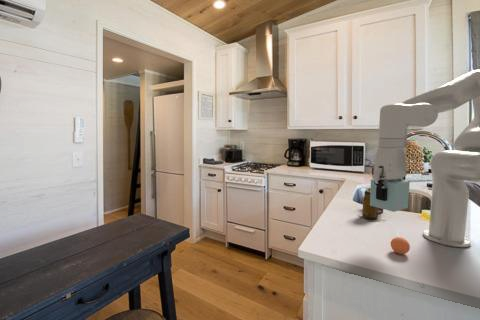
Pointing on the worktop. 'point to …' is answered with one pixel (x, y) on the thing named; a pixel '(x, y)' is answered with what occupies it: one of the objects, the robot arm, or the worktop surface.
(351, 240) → the worktop surface
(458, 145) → the robot arm
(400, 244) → the ball
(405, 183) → the mint green cube
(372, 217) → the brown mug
